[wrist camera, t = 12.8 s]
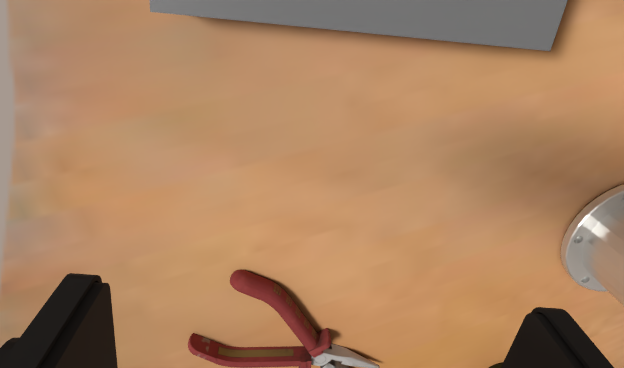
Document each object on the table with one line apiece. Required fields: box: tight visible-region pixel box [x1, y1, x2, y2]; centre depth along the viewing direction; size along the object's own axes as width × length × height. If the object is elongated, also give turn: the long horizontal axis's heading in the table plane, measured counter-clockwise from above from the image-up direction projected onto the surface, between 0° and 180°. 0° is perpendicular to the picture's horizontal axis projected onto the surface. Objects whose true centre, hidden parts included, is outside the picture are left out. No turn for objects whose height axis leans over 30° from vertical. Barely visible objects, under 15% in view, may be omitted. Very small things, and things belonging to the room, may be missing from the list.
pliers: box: [188, 270, 380, 368], centre depth 44 cm, size 12×20×3 cm, turn 57°
